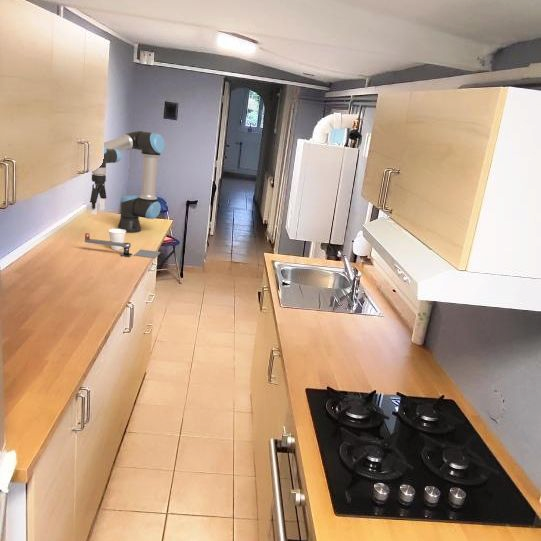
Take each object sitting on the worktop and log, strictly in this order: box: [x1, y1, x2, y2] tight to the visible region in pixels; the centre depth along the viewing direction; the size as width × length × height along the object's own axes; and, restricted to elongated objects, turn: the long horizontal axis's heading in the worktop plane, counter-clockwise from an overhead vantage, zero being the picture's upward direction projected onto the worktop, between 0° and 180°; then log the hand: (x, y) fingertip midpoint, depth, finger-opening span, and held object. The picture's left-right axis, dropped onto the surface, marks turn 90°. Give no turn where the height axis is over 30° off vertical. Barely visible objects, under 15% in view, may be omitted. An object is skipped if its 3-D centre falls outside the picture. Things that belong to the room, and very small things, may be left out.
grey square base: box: [119, 247, 133, 258], centre depth 307 cm, size 5×5×5 cm
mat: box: [133, 249, 161, 259], centre depth 315 cm, size 12×12×1 cm
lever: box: [84, 232, 132, 249], centre depth 306 cm, size 4×26×5 cm, turn 86°
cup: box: [107, 228, 127, 251], centre depth 317 cm, size 10×10×11 cm
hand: (98, 212), depth 311 cm, fingers open, 13 cm apart
